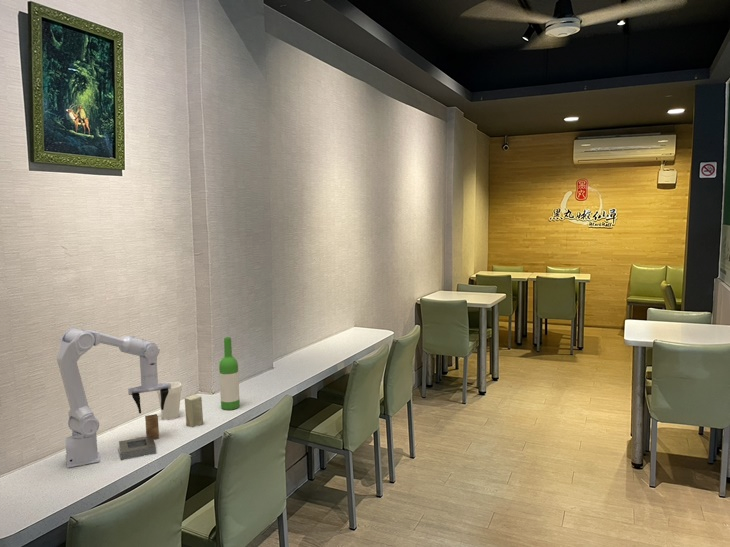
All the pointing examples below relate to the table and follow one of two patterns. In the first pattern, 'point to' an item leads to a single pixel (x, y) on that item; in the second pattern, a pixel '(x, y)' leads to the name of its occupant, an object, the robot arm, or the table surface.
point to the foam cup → (171, 401)
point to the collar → (137, 447)
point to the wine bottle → (229, 378)
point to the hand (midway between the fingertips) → (151, 410)
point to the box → (193, 410)
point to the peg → (152, 426)
